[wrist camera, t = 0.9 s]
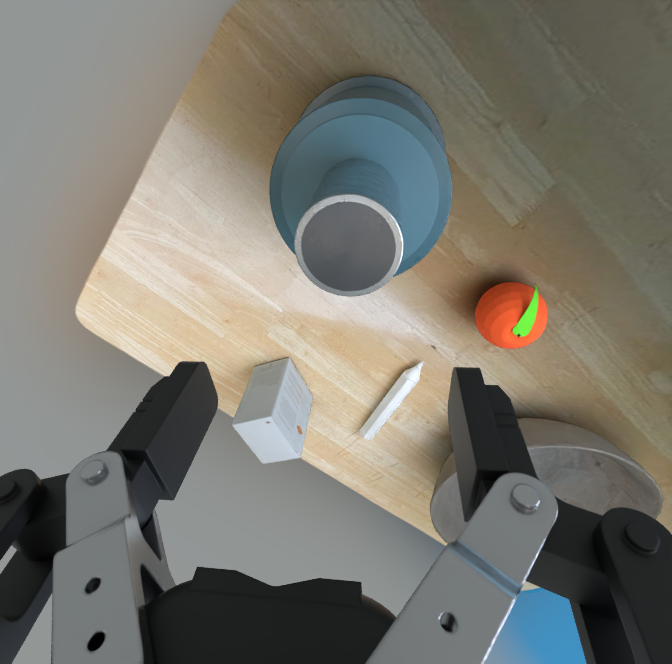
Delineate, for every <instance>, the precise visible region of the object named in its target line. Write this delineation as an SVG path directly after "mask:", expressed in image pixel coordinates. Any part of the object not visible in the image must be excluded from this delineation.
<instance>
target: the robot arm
mask: <svg viewBox="0 0 672 664" xmlns="http://www.w3.org/2000/svg"><path fill="white" fill-rule="evenodd" d="M217 406H218V396H217V392H216V389H215V387H214V384H213V381H212V378H211V375H210V372H209V369H208V367H207V365H206V363H205V362H189V361H182V362H180V363H178V365H177V366H176V367H175V369H174V370H173V372H172V373H171V375H170V376H165V377H164V378H162V379H161V380H160V381H159V382H157V383H156V384H155V385H154V386H152V387H151V389H150V390H149V391H148V393H147V394H146V396H145V397H144V398H143V402H141V403H140V404H139V405H138V407H137V408H136V412H133V414H132V415H131V417H130V418H129V420H128V421H127V422H126V424H125V425H124V427H123V428H122V429H121V431H120V432H119V434H118V435H117V437H116V438H115V439H114V441H113V442H112V443H111V445H110V446H109V448H108V449H107V450H106V451H103V452H99V453H96V454H93V455H91V456H89V457H88V458H86V459H84V460H83V461H81V462H80V463H79V464H78V465H77V466H76V467H75V468H74V469H73V470H72V471H71V473H68V474H64V475H59V476H55V477H51V478H46V479H42V480H40V478H39V477H38V476H37V475H36V474H35V473H34V472H33V471H32V470H28V469H19V470H15V471H12V472H9V473H7V474H4V475H3V476H1V477H0V560H1V559H2V557H3V556H4V555H5V553H6V551H7V550H8V549H9V547H10V546H11V545H12V546H13V547H14V548H16V549H17V551H16V552H15V554H14V555H13V557H12V559H11V560H10V561H9V563H8V564H7V565H6V567H5V568H4V570H3V571H2V573H1V574H0V664H12V662H13V660H14V658H15V656H16V655H17V653H18V651H19V650H20V648H21V646H22V644H23V643H24V641H25V639H26V637H27V636H28V634H29V632H30V630H31V629H32V627H33V625H34V623H35V622H36V620H37V618H38V616H39V615H40V613H41V611H42V609H43V608H44V606H45V604H46V602H47V601H48V599H49V597H50V595H51V594H52V595H53V596H52V645H51V648H52V649H51V664H484V663H485V661H486V659H487V657H488V655H489V653H490V651H491V649H492V646H493V645H494V643H495V641H496V639H497V637H498V635H499V633H500V631H501V629H502V627H503V625H504V623H505V621H506V619H507V617H508V615H509V613H510V611H511V609H512V607H513V605H514V603H515V601H516V599H517V597H518V595H519V593H520V591H521V589H522V587H523V585H524V583H525V581H527V582H530V583H532V584H534V585H537V586H539V587H541V588H544V589H546V590H548V591H551V592H553V593H556V594H558V595H560V596H563V597H565V598H568V599H569V601H570V604H571V608H572V612H573V615H574V619H575V623H576V626H577V630H578V634H579V637H580V641H581V645H582V648H583V652H584V656H585V659H586V663H587V664H672V535H671V533H670V532H669V531H668V530H667V529H666V528H665V527H664V526H663V525H662V524H660V523H659V522H658V521H657V520H655V519H654V518H652V517H650V516H649V515H647V514H645V513H643V512H640V511H638V510H635V509H631V508H625V507H618V508H613V509H610V510H608V511H607V512H606V513H605V514H604V515H600V514H597V513H594V512H591V511H588V510H585V509H582V508H579V507H576V506H573V505H571V504H568V503H566V502H564V501H562V500H560V499H559V498H557V497H556V496H554V494H553V493H552V492H551V490H550V489H549V488H548V487H547V486H546V485H545V484H544V483H542V482H541V481H540V480H539V478H538V477H537V474H536V472H535V469H534V466H533V463H532V460H531V458H530V455H529V452H528V449H527V446H526V443H525V440H524V438H523V435H522V432H521V429H520V428H519V423H518V420H517V417H516V416H515V412H514V409H513V406H512V403H511V400H510V398H509V397H508V396H507V395H506V394H505V392H504V391H503V390H502V389H501V388H500V387H499V386H498V385H485V384H484V380H483V377H482V373H481V370H480V368H464V367H454V368H453V372H452V378H451V386H450V393H449V400H448V422H449V428H450V434H451V441H452V447H453V453H454V459H455V466H456V472H457V478H458V484H459V490H460V497H461V503H462V509H463V515H464V522H468V523H467V525H466V526H465V528H464V529H463V531H462V532H461V534H460V535H459V536H458V538H457V539H456V540H455V541H454V542H453V541H451V542H450V543H448V544H447V546H446V547H445V548H444V549H443V551H442V552H441V554H440V555H439V557H438V558H437V559H436V561H435V562H434V564H433V565H432V567H431V568H430V570H429V571H428V572H427V574H426V575H425V577H424V578H423V580H422V581H421V583H420V584H419V586H418V587H417V589H416V590H415V592H414V593H413V595H412V596H411V597H410V599H409V600H408V602H407V603H406V605H405V606H404V608H403V609H402V611H401V612H400V613H399V615H398V616H397V618H396V617H395V616H394V615H393V614H392V613H391V612H390V611H389V610H388V609H387V608H385V607H384V606H383V605H381V604H380V603H378V602H376V601H375V600H373V599H372V598H369V597H367V596H365V595H362V587H361V582H355V581H344V580H332V579H322V578H318V579H312V580H307V581H302V582H297V583H292V584H287V585H282V586H270V585H268V584H266V583H264V582H261V581H259V580H257V579H254V578H252V577H250V576H247V575H245V574H243V573H241V572H238V571H236V570H226V569H215V568H204V567H197V569H196V571H195V574H194V577H193V579H192V580H190V581H187V582H184V583H181V584H179V585H177V586H176V585H175V583H174V580H173V578H172V576H171V573H170V571H169V568H168V564H167V560H166V555H165V550H164V546H163V542H162V537H161V532H160V527H159V522H158V518H157V514H156V511H155V510H154V508H155V506H156V504H157V502H158V500H159V499H161V500H174V499H175V497H176V494H177V492H178V490H179V488H180V486H181V484H182V482H183V480H184V478H185V476H186V474H187V471H188V469H189V467H190V465H191V463H192V461H193V459H194V457H195V455H196V453H197V451H198V449H199V447H200V444H201V442H202V440H203V438H204V436H205V434H206V432H207V430H208V428H209V426H210V424H211V422H212V419H213V417H214V415H215V413H216V410H217Z"/></svg>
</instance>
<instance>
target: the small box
mask: <svg viewBox="0 0 672 664" xmlns="http://www.w3.org/2000/svg"><path fill="white" fill-rule="evenodd" d="M312 400H313V396H312V394H311V393H310V391H309V389H308V388H307V386H306V384H305V383H304V381H303V379H302V378H301V376H300V374H299V372H298V371H297V369H296V367H295V366H294V364H293V362H292V361H291V359H290V358H285V359H281V360H278V361H274V362H270V363H266V364H262V365H258V366H255V367H254V370H253V372H252V375H251V377H250V380H249V382H248V384H247V387H246V390H245V392H244V394H243V397H242V399H241V402H240V404H239V407H238V409H237V412H236V414H235V417H234V419H233V422H232V426H233V428H234V429H235V430H236V431H237V433H238V434H239V435H240V436H241V437H242V439H243V440H244V441H245V442H246V444H247V445H248V446H249V447H250V449H251V450H252V451H253V452H254V454H255V455H256V456H257V457H258V459H259V460H260V461H261V462H262V463H263V464H264V463H271V462H277V461H284V460H290V459H296V458H300V457H301V454H302V449H303V444H304V439H305V435H306V430H307V425H308V420H309V415H310V410H311V405H312Z"/></svg>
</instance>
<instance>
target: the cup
mask: <svg viewBox="0 0 672 664" xmlns="http://www.w3.org/2000/svg"><path fill="white" fill-rule="evenodd" d="M294 246H295V254H296V258H297V260H298V263H299V265H300V267H301V269H302V271H303V272H304V274H305V275H306V276H307V277H308V278H309V279H310V280H311V281H312V282H313V283H314V284H315V285H317V286H318V287H319V288H321V289H323V290H325V291H327V292H330V293H332V294H336V295H341V296H360V295H365V294H368V293H371V292H373V291H376V290H377V289H379V288H381V287H382V286H383V285H385V284H386V283H387V282H388V281H389V280H390V279H391V278H392V277H393V276H394V274H395V273H396V271H397V269H398V268H399V265H400V263H401V260H402V256H403V231H402V218H401V204H400V194H399V190H398V186H397V184H396V182H395V180H394V178H393V177H392V175H391V174H390V173H389V172H388V171H387V170H386V169H385V168H384V167H382V166H381V165H379V164H377V163H375V162H373V161H370V160H365V159H350V160H346V161H343V162H341V163H339V164H337V165H335V166H334V167H333V168H331V169H330V170H329V171H328V172H327V173H326V174H325V176H324V177H323V178H322V180H321V182H320V184H319V186H318V188H317V190H316V192H315V193H314V195H313V197H312V199H311V201H310V203H309V205H308V207H307V208H306V210H305V212H304V214H303V216H302V218H301V220H300V222H299V224H298V226H297V229H296V233H295V240H294Z"/></svg>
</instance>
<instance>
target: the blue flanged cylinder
mask: <svg viewBox="0 0 672 664" xmlns="http://www.w3.org/2000/svg"><path fill="white" fill-rule="evenodd" d="M350 159H365V160H370V161H373V162H375V163H377V164H379V165H381V166H382V167H384V168H385V169H386V170H387V171H388V172H389V173H390V174H391V175H392V177H393V178H394V180H395V182H396V184H397V186H398V190H399V194H400V204H401V218H402V231H403V256H402V260H401V263H400V265H399V268H398V269H397V271H396V273H395V274H394V276H396V275H399V274H401V273H403V272H404V271H406V270H408V269H409V268H411V267H412V266H414V265H415V264H416V263H418V262H419V261H420V260H421V259H422V258H423V257H424V256H425V255H426V254H427V253H428V252H429V251H430V250H431V249H432V247H433V246H434V245H435V243H436V242H437V240H438V239H439V237H440V235H441V233H442V231H443V229H444V227H445V225H446V222H447V219H448V216H449V212H450V207H451V201H452V180H451V172H450V168H449V164H448V161H447V158H446V151H445V143H444V138H443V134H442V131H441V128H440V125H439V123H438V121H437V119H436V117H435V115H434V113H433V112H432V110H431V109H430V107H429V106H428V105H427V103H426V102H425V101H424V100H423V99H422V98H421V97H420V96H419V95H418V94H417V93H416V92H415V91H413V90H412V89H411V88H409V87H408V86H406V85H404V84H402V83H400V82H398V81H396V80H393V79H390V78H387V77H381V76H358V77H352V78H349V79H346V80H343V81H340V82H338V83H336V84H334V85H332V86H330V87H329V88H327V89H326V90H325V91H323V92H322V93H320V94H319V95H318V96H317V97H316V98H315V99H314V100H313V101H312V102H311V103H310V104H309V105H308V107H307V108H306V109H305V110H304V112H303V114H302V115H301V117H300V119H299V120H298V123H297V124H296V125H295V127H294V128H293V129H292V130H291V131H290V133H289V134H288V135H287V136H286V138H285V140H284V141H283V143H282V145H281V146H280V148H279V151H278V153H277V155H276V157H275V160H274V164H273V167H272V171H271V178H270V203H271V209H272V213H273V217H274V220H275V223H276V226H277V228H278V230H279V232H280V234H281V236H282V238H283V240H284V241H285V243H286V244H287V246H288V247H289V248H290V249H291V251H292V252H293V253H294V254H295V246H294V240H295V233H296V229H297V226H298V224H299V222H300V220H301V218H302V216H303V214H304V212H305V210H306V208H307V207H308V205H309V203H310V201H311V199H312V197H313V195H314V193H315V192H316V190H317V188H318V186H319V184H320V182H321V180H322V178H323V177H324V176H325V174H326V173H327V172H328V171H329V170H330V169H331V168H333V167H334V166H335V165H337V164H339V163H341V162H343V161H346V160H350ZM295 255H296V254H295ZM394 276H393V277H394Z"/></svg>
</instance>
